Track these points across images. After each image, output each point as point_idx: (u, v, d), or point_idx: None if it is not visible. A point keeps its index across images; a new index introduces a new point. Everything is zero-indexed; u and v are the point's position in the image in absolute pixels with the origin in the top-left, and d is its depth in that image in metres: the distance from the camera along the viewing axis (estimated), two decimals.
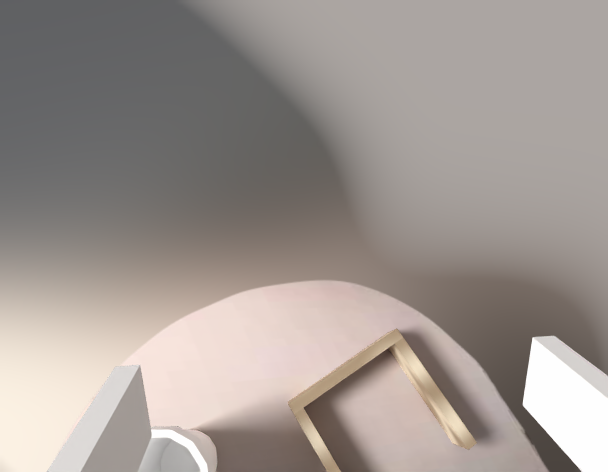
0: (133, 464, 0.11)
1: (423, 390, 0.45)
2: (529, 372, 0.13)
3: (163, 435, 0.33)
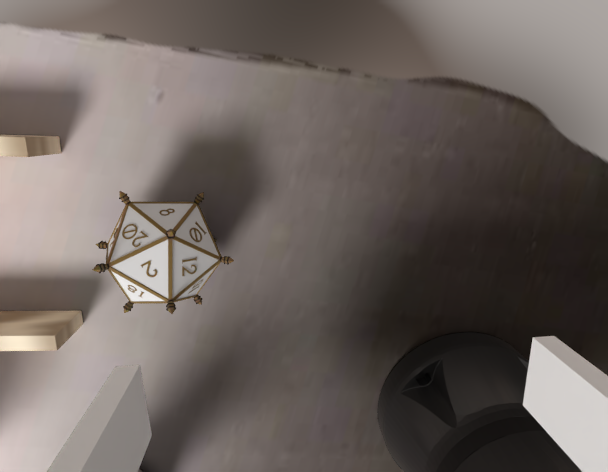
0: (133, 464, 0.11)
1: None
2: (529, 372, 0.13)
3: None
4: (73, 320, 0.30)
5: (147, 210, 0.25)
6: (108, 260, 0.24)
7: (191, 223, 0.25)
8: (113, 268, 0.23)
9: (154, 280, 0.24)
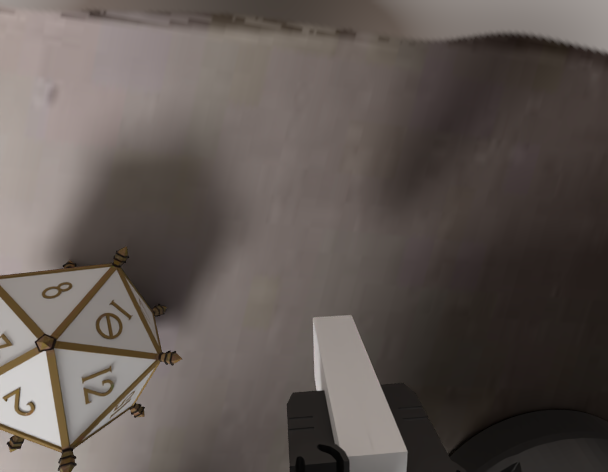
0: None
1: None
2: None
3: None
4: None
5: (20, 291, 0.14)
6: None
7: (101, 306, 0.15)
8: None
9: (32, 420, 0.13)
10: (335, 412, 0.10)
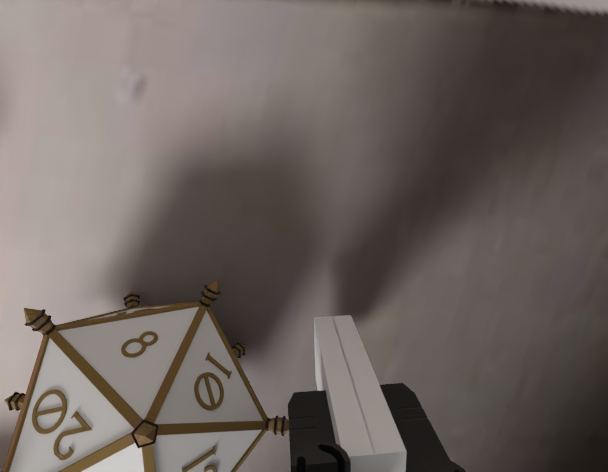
0: None
1: None
2: None
3: None
4: None
5: (93, 347, 0.11)
6: None
7: (197, 363, 0.11)
8: None
9: None
10: (336, 412, 0.10)
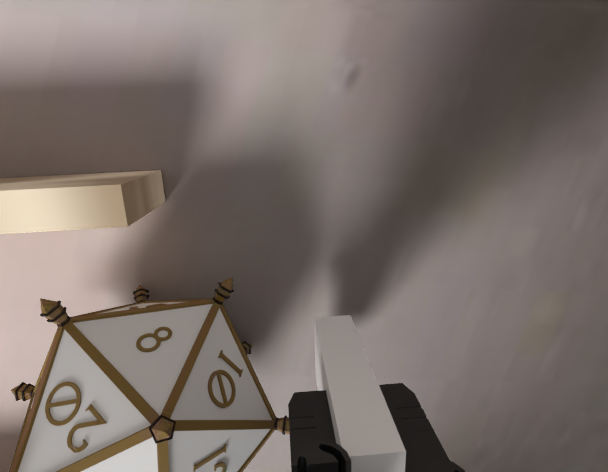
0: None
1: None
2: None
3: None
4: None
5: (108, 340, 0.11)
6: None
7: (211, 360, 0.11)
8: None
9: None
10: (336, 412, 0.10)
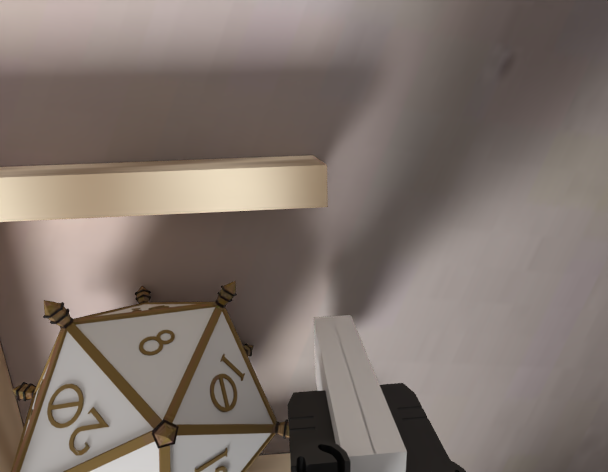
0: None
1: None
2: None
3: None
4: None
5: (110, 343, 0.11)
6: None
7: (213, 364, 0.11)
8: None
9: None
10: (336, 412, 0.10)
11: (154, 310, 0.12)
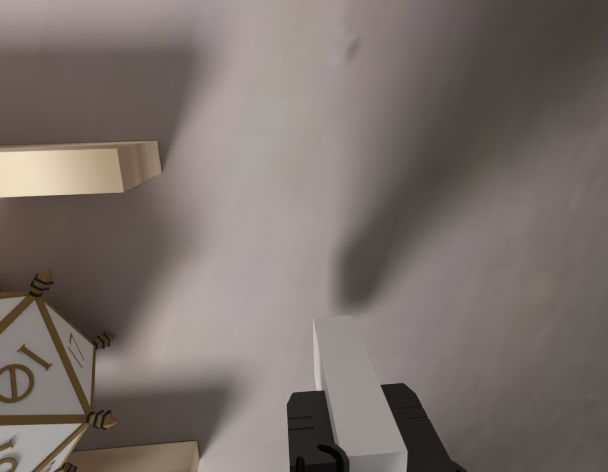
0: None
1: None
2: None
3: None
4: (191, 468, 0.17)
5: None
6: None
7: (4, 354, 0.11)
8: None
9: None
10: (335, 412, 0.10)
11: None
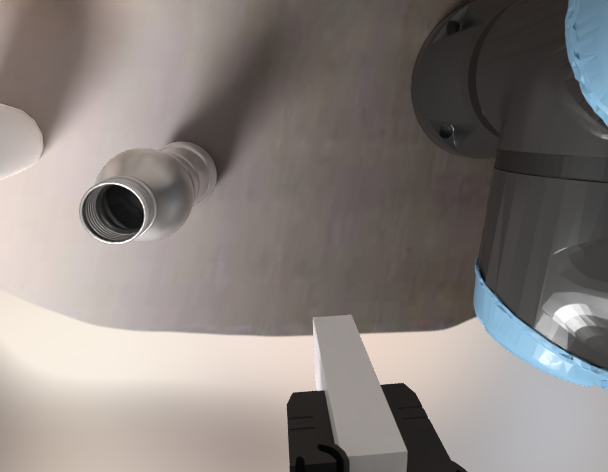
0: None
1: None
2: None
3: None
4: None
5: None
6: None
7: None
8: None
9: None
10: (335, 412, 0.10)
11: None
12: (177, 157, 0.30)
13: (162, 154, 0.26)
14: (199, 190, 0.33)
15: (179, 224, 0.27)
